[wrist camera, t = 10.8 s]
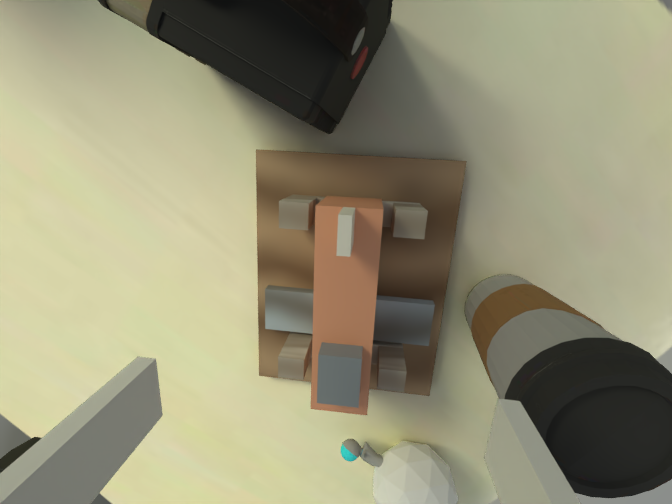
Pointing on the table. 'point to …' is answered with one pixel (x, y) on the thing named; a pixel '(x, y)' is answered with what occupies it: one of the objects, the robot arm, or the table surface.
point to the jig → (394, 265)
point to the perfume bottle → (406, 473)
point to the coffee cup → (576, 387)
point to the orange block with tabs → (344, 301)
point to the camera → (274, 45)
